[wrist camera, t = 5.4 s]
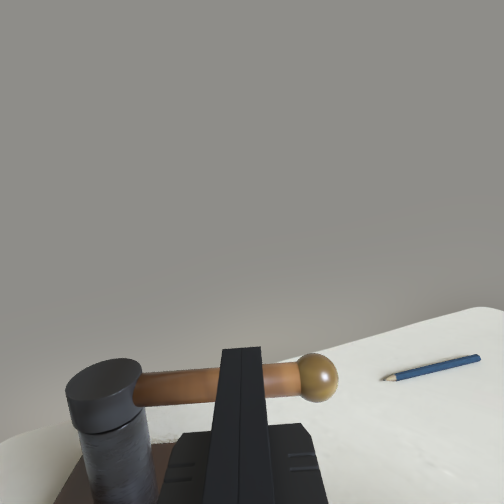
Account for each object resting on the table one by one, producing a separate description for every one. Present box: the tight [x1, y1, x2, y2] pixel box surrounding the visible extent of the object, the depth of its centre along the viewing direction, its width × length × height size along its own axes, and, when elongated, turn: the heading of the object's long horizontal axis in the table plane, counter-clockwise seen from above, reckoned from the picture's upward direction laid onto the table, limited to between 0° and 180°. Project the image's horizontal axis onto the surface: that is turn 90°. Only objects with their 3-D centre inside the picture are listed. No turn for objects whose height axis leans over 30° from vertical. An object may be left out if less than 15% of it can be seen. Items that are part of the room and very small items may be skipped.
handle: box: [65, 353, 338, 433], centre depth 22 cm, size 18×5×3 cm, turn 91°
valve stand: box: [53, 407, 176, 504], centre depth 23 cm, size 14×14×11 cm
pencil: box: [383, 354, 481, 381], centre depth 42 cm, size 1×1×15 cm
